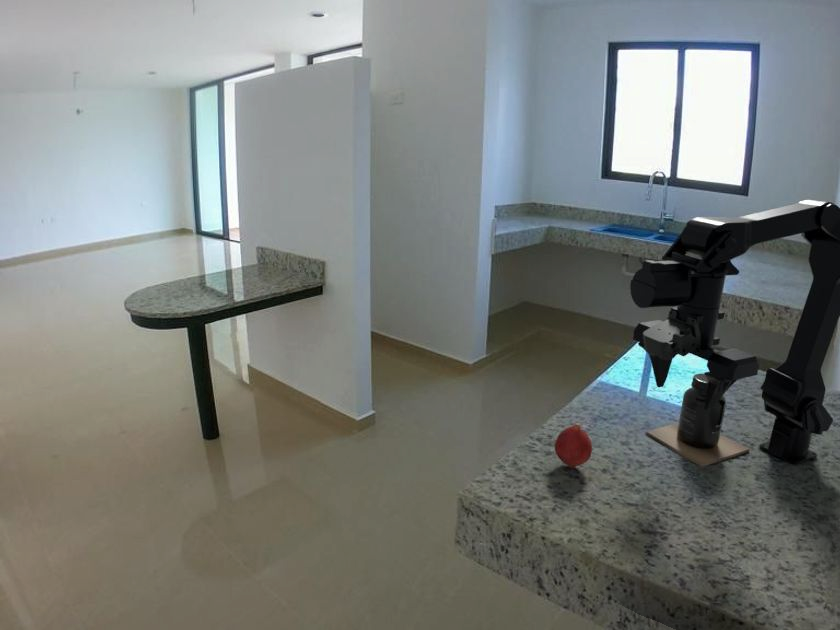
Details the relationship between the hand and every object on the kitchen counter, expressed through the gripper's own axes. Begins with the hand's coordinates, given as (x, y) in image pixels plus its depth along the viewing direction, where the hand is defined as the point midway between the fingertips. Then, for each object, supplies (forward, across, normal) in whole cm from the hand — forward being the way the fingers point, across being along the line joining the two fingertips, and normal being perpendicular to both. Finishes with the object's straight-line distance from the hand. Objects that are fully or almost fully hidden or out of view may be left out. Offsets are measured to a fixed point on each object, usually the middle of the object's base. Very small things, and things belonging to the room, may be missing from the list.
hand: (682, 398), depth 90 cm
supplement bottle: (+13, -4, +11) cm, 17 cm away
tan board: (+13, -4, +11) cm, 18 cm away
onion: (+13, -7, -15) cm, 21 cm away
